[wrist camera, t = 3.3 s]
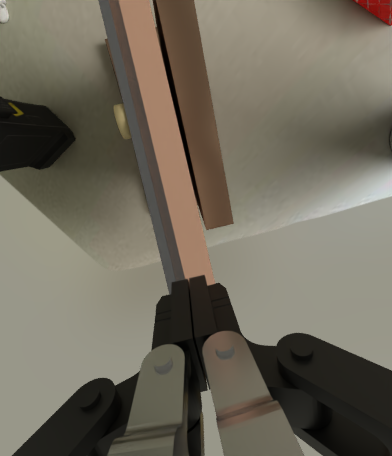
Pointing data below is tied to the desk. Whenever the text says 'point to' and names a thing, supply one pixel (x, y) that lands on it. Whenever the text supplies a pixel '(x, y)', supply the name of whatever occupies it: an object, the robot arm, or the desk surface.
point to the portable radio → (30, 136)
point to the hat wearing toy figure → (3, 12)
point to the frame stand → (192, 106)
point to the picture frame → (155, 138)
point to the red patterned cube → (378, 8)
